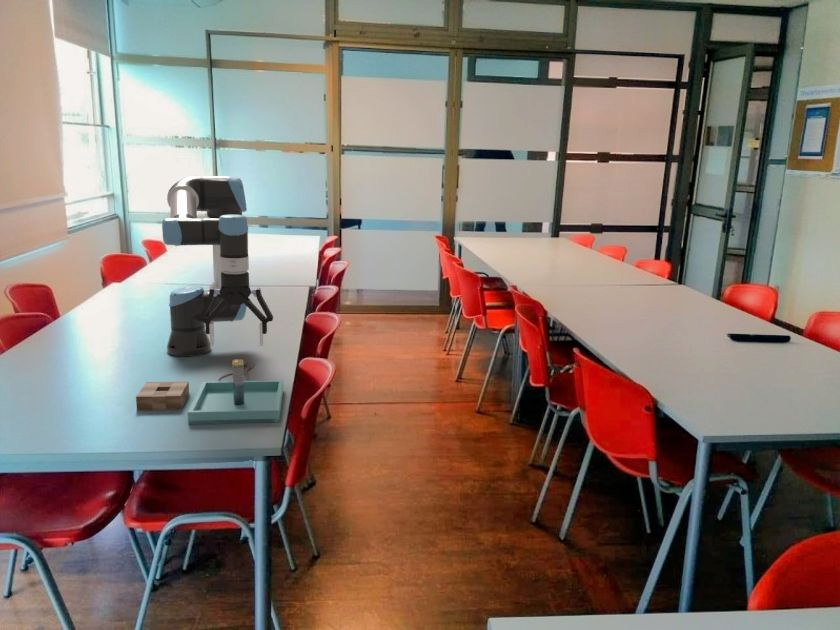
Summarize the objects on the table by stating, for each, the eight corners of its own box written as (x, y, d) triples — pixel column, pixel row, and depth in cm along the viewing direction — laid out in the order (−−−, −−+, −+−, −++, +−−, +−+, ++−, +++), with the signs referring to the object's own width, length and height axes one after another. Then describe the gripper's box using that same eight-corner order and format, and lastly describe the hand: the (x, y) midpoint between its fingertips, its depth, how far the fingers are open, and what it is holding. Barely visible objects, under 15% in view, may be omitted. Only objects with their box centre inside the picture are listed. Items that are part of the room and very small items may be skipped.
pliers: (215, 382, 205) (226, 362, 224) (215, 385, 205) (226, 364, 224) (247, 382, 206) (255, 362, 225) (247, 385, 206) (255, 364, 225)
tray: (203, 392, 197) (202, 381, 196) (283, 390, 201) (283, 380, 200) (188, 424, 174) (187, 412, 174) (278, 422, 178) (278, 410, 177)
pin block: (147, 394, 194) (146, 382, 193) (189, 393, 196) (188, 381, 195) (136, 410, 182) (135, 396, 181) (181, 409, 184) (180, 395, 183)
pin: (234, 401, 189) (233, 359, 186) (244, 401, 189) (243, 359, 186) (233, 405, 186) (231, 362, 183) (243, 405, 186) (242, 362, 183)
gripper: (185, 273, 172) (188, 349, 178) (280, 274, 176) (281, 348, 182) (190, 268, 180) (193, 340, 185) (281, 269, 184) (282, 340, 189)
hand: (237, 344), depth 183 cm, fingers open, 13 cm apart
